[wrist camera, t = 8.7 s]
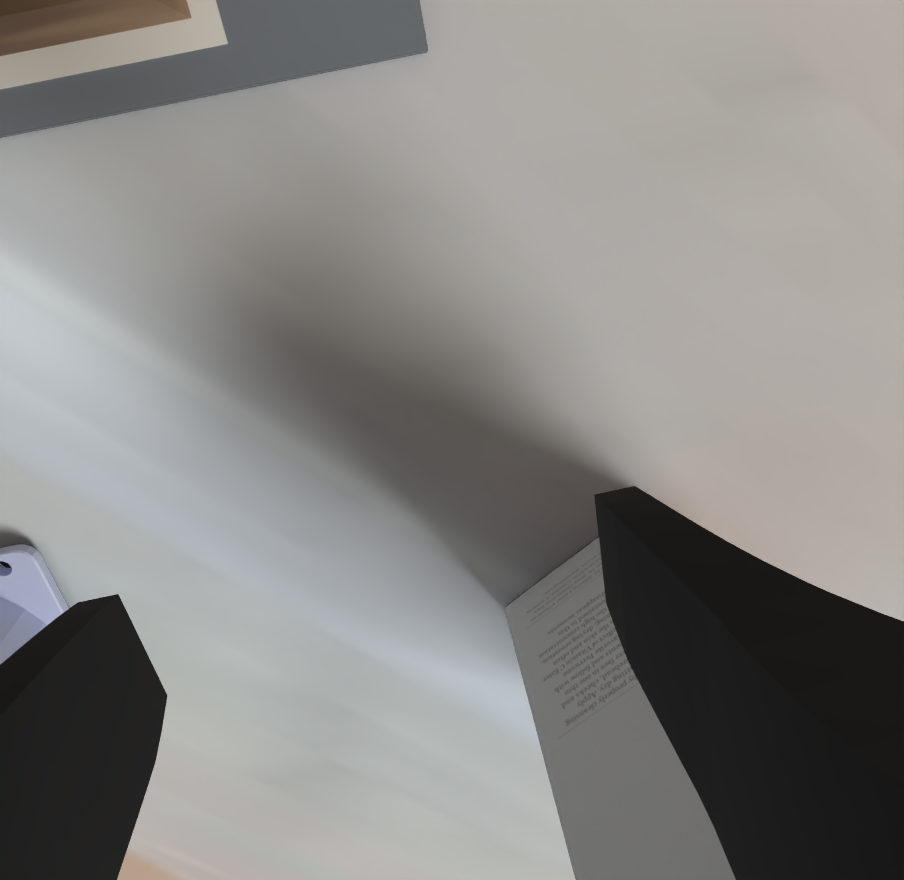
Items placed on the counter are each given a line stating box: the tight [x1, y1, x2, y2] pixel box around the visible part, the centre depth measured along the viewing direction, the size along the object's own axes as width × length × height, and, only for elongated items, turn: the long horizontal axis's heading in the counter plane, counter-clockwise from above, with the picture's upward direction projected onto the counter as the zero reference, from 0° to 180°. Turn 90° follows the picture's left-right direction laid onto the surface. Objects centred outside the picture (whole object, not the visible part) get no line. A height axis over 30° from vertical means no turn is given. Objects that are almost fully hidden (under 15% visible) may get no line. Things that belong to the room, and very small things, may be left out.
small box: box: [505, 537, 736, 880], centre depth 19 cm, size 8×6×13 cm
